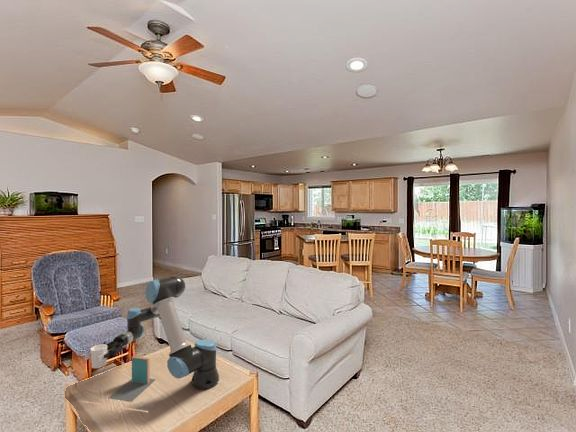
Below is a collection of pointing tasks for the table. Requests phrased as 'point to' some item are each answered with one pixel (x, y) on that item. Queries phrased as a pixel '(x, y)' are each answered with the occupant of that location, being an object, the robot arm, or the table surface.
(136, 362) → the tile
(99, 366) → the white cup
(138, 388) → the mat
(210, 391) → the table surface
